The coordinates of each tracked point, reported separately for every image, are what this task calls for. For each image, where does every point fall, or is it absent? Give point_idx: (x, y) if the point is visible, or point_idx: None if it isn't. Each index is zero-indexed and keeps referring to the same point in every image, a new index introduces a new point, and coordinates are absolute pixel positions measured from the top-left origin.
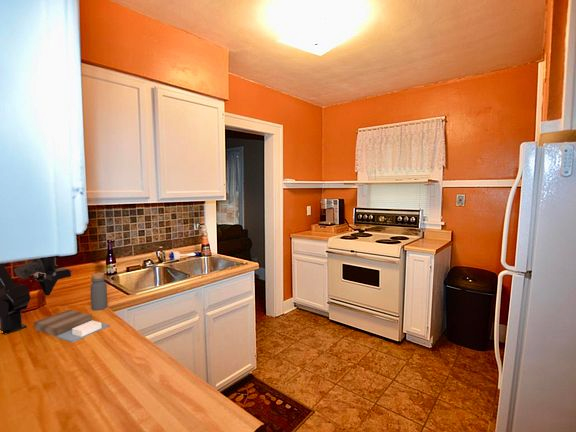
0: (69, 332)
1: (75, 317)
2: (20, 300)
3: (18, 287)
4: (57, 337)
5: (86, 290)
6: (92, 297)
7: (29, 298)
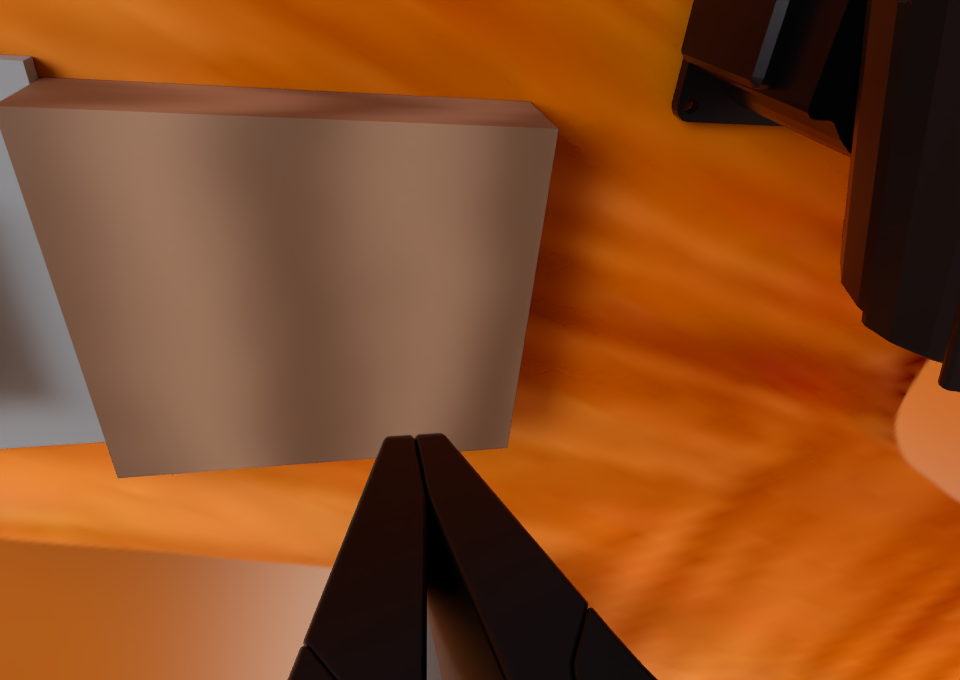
0: (3, 185)
1: (217, 382)
2: (927, 154)
3: None
4: (15, 56)
5: (795, 628)
6: None
7: (871, 309)
